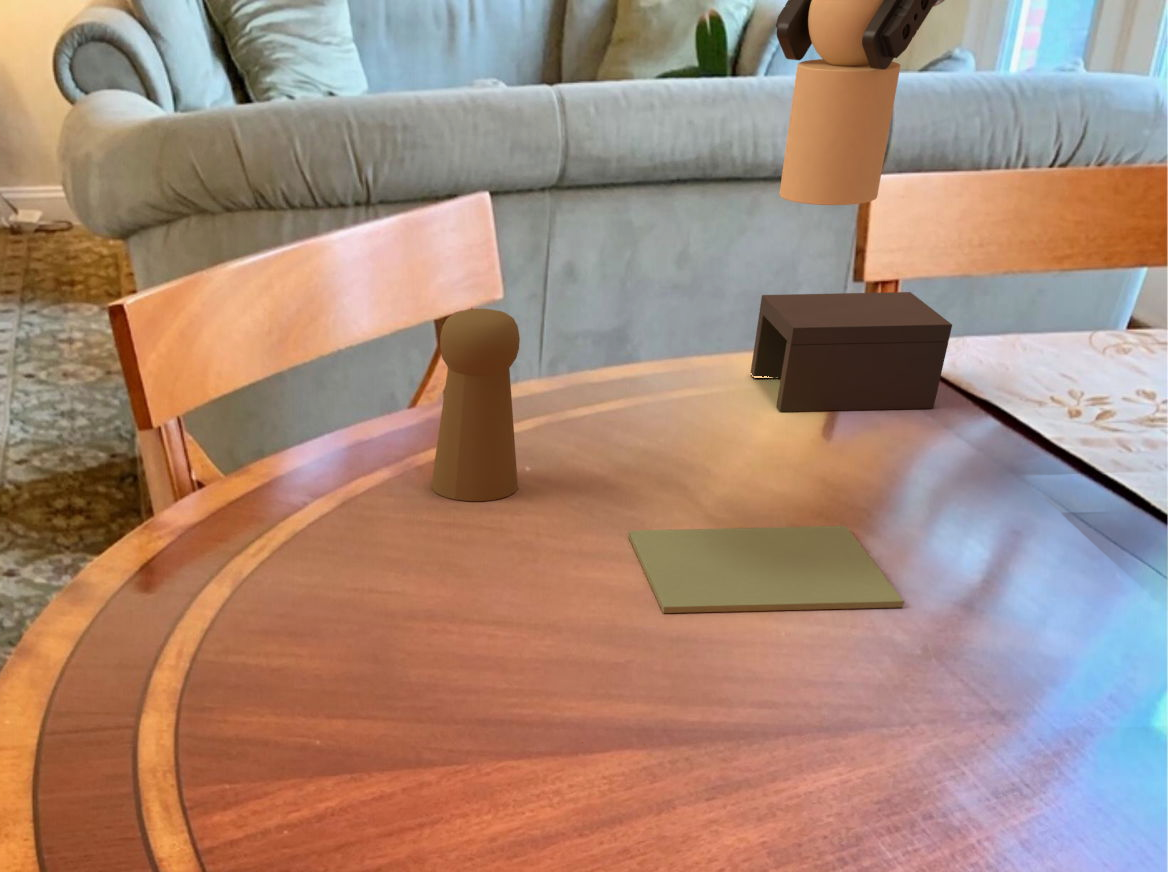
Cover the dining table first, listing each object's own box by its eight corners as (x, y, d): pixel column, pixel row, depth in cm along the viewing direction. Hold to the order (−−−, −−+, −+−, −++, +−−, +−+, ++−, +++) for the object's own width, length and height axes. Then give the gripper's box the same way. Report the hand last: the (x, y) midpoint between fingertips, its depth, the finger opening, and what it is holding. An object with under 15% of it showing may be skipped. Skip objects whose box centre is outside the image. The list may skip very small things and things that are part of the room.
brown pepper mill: (473, 465, 105) (479, 295, 98) (536, 486, 102) (547, 311, 94) (412, 485, 102) (414, 312, 95) (475, 507, 98) (481, 329, 91)
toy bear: (861, 186, 82) (903, -61, 75) (889, 204, 78) (936, -55, 71) (769, 188, 82) (803, -58, 75) (792, 206, 78) (830, -52, 71)
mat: (844, 531, 94) (846, 525, 94) (902, 607, 85) (904, 600, 85) (628, 536, 94) (628, 530, 94) (663, 613, 85) (663, 606, 85)
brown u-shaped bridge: (894, 371, 121) (910, 291, 118) (933, 408, 114) (952, 324, 110) (749, 374, 121) (761, 294, 117) (779, 412, 114) (793, 327, 110)
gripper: (882, -327, 74) (693, -16, 76) (1151, -350, 66) (930, 0, 68) (920, -190, 80) (744, 95, 82) (1171, -195, 72) (968, 123, 74)
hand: (829, 50), depth 75 cm, fingers closed on toy bear, 4 cm apart
